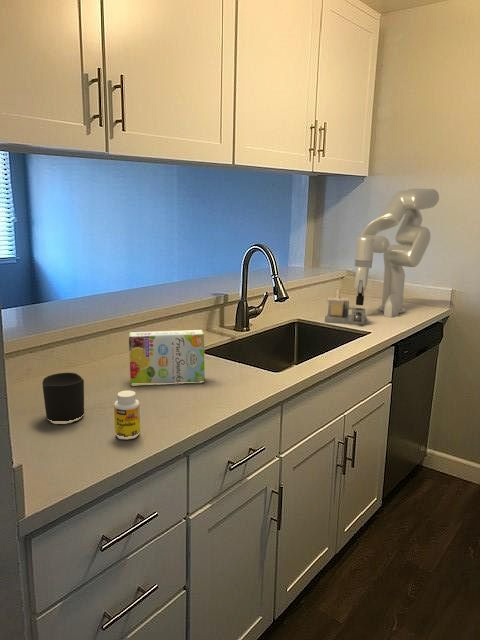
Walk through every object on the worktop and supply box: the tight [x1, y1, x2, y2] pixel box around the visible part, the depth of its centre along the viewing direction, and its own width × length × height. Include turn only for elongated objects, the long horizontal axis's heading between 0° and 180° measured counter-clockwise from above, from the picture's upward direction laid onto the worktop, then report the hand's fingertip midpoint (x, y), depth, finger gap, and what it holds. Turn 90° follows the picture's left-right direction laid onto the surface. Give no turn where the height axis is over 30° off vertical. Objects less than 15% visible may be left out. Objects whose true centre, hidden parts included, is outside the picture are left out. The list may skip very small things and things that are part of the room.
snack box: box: [128, 329, 205, 385], centre depth 152 cm, size 21×6×15 cm, turn 100°
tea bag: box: [383, 294, 399, 319], centre depth 243 cm, size 4×7×10 cm, turn 137°
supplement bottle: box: [113, 390, 141, 437], centre depth 119 cm, size 6×6×10 cm
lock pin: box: [354, 312, 362, 321], centre depth 228 cm, size 14×4×4 cm, turn 163°
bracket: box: [324, 300, 367, 326], centre depth 232 cm, size 12×17×8 cm
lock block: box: [331, 300, 344, 317], centre depth 233 cm, size 7×5×6 cm
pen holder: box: [42, 372, 85, 421], centre depth 127 cm, size 9×9×10 cm
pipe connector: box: [326, 289, 350, 303], centre depth 253 cm, size 10×10×10 cm
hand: (359, 304), depth 238 cm, fingers closed
